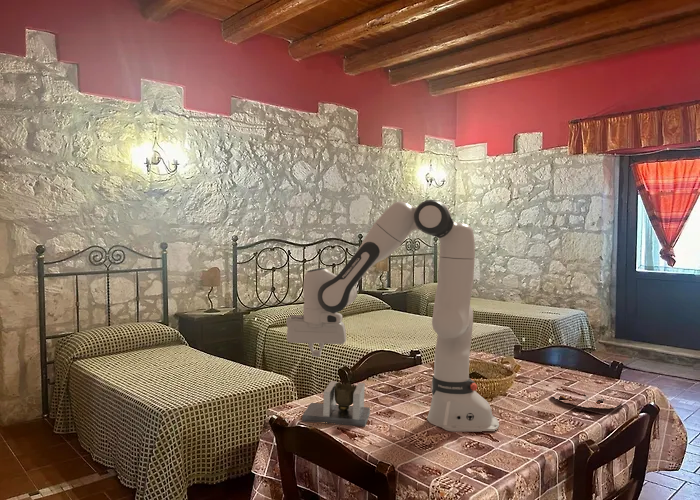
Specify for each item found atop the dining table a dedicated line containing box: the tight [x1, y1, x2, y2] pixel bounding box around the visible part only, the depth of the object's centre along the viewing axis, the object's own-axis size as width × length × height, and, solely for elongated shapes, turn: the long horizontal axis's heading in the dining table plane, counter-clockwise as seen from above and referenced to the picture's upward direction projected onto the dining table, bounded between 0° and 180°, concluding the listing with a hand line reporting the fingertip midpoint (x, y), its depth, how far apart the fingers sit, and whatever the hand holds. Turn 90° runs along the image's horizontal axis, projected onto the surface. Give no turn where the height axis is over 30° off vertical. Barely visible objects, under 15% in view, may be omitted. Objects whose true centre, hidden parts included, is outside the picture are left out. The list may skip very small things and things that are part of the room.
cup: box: [334, 382, 357, 411], centre depth 178 cm, size 8×7×8 cm
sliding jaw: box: [322, 380, 338, 417], centre depth 177 cm, size 2×12×8 cm, turn 171°
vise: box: [301, 382, 371, 428], centre depth 177 cm, size 20×12×10 cm, turn 81°
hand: (316, 356), depth 186 cm, fingers closed
